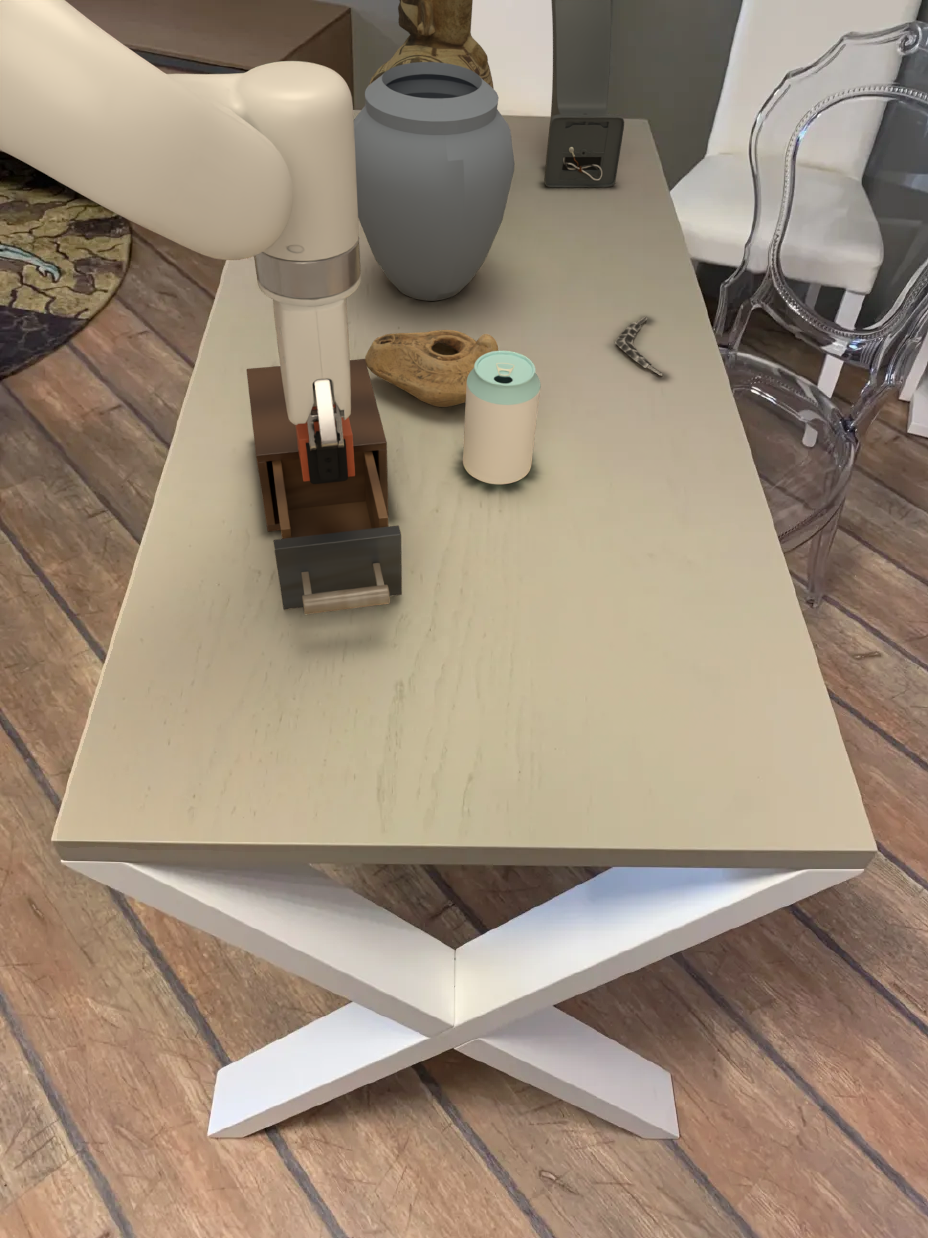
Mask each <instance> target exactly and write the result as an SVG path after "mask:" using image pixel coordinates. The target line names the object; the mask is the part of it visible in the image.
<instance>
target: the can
mask: <svg viewBox="0 0 928 1238" xmlns="http://www.w3.org/2000/svg"><path fill="white" fill-rule="evenodd" d="M536 370H537V369H536V366H535V363H534V362H533V361H532V360H531V359H530V358H529V357H527V356H526V355H524V354H522V353H520V352H517V351H511V350H498V351H493V352H489V353H486V354H484V355H482V356H481V357H479V358H478V359H477V360H476V362H475V365H474V368H473V369H472V371H471V372H470V373H469V375H468V377H467V386H466V402H465V407H464V408H465V410H464V429H463V447H462V448H463V449H462V450H463V451H462V464H463V468H464V469H465V471H466V472H467V474H469V475H470V476H471V477H473V478H474V479H475V480H478V481H480V482H482V483H486V484H490V485H508V484H513V483H516V482H518V481H520V480H522V479H524V478H525V477H526V476H527V475H528V474H529V473H530V471H531V468H532V464H533V454H534V445H535V439H536V438H535V436H536V428H537V419H538V412H539V403H540V396H541V395H540V394H541V387H542V386H541V385H542V384H541V380H540V377H539V376H538V374H537V373H536Z"/></svg>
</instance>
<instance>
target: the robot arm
mask: <svg viewBox="0 0 928 1238" xmlns="http://www.w3.org/2000/svg"><path fill="white" fill-rule="evenodd" d="M353 105H354V104H353V96H352V92H351V90H350V87H349V86H348V83H347V82H346V80H345V79H344V78H343V77H342V75H340V74H339V73H338V72H337V71H335V70H334V69H332V68H330V67H327V66H325V65H321V64H318V63H314V62H308V61H301V60H284V61H275V62H269V63H265V64H261V65H258V66H256V67H253V68H251V69H249V70H248V71H246V72H239V73H209V74H208V73H166V72H164V71H163V70H161V69H159V68H158V67H157V66H155V65H154V64H152V63H151V62H149V61H148V60H146V59H145V58H143V57H142V56H140V55H139V54H138V53H136V52H134V51H133V50H132V49H131V48H129V47H128V46H126V45H125V44H123V43H122V42H120V41H119V40H117V39H116V38H115V37H114V36H112V35H111V34H110V33H108V32H106V30H104V29H103V28H101V27H100V26H99V25H97V24H96V23H95V22H93V21H92V20H90V18H88V17H87V16H85V15H84V14H83V13H82V12H80V11H79V10H77V8H75V7H74V6H73V5H72V4H70V3H69V2H68V1H67V0H0V151H2V152H4V153H5V154H8V155H10V156H12V157H13V158H15V159H18V160H20V161H22V162H23V163H25V164H27V165H29V166H30V167H32V168H34V169H36V170H37V171H39V172H41V173H43V174H45V175H47V177H50V178H52V179H54V181H57V182H58V183H60V184H62V185H64V186H66V187H68V188H69V189H71V190H73V191H74V192H76V193H78V194H80V195H81V196H84V197H85V198H87V199H89V200H90V201H92V202H94V203H96V204H97V205H99V206H101V207H103V208H105V209H107V210H109V211H111V212H112V213H115V214H116V215H118V216H120V217H123V218H124V219H126V220H128V221H130V222H132V223H134V224H136V225H138V226H140V227H142V228H144V229H146V230H148V231H151V232H153V233H154V234H157V235H159V236H161V237H163V238H164V239H165V238H166V239H167V240H170V241H172V242H174V243H176V244H178V245H179V246H182V247H184V248H187V249H189V250H190V251H193V252H196V253H198V254H200V255H202V256H205V257H208V258H212V259H217V260H221V261H222V260H223V261H240V260H246V259H250V258H254V267H255V274H256V283H257V287H258V289H259V291H261V292H262V293H263V295H265V296H266V297H268V298H269V299H271V300H272V307H273V318H274V325H275V333H276V343H277V352H278V357H279V359H278V360H279V366H280V367H281V375H282V382H283V389H284V395H285V401H286V408H287V413H288V418H289V420H290V421H291V422H292V423H293V424H294V425H298V424H305V423H306V422H307V429H308V438H309V443H306V449H307V459H308V468H309V478H310V482H311V483H312V484H322V483H331V482H341V481H346V480H347V479H348V468H347V453H346V441H345V439H343V429H342V418H343V419H344V420H346V419H347V418H348V417H349V416H350V414H351V381H350V360H351V359H350V358H351V356H350V355H351V354H350V334H349V318H348V305H347V304H348V303H347V298H348V297H350V296H351V295H353V294H354V293H355V292H356V291H357V290H358V289H359V286H360V285H361V282H362V275H361V271H362V270H361V253H360V252H361V250H360V230H359V218H358V204H357V182H356V160H355V137H354V119H355V116H354V106H353ZM333 405H335V408H333ZM314 406H316V407H317V409H314V410H311V409H312V407H314ZM314 422H318V423H319V431H316V433H315V429H314Z"/></svg>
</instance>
